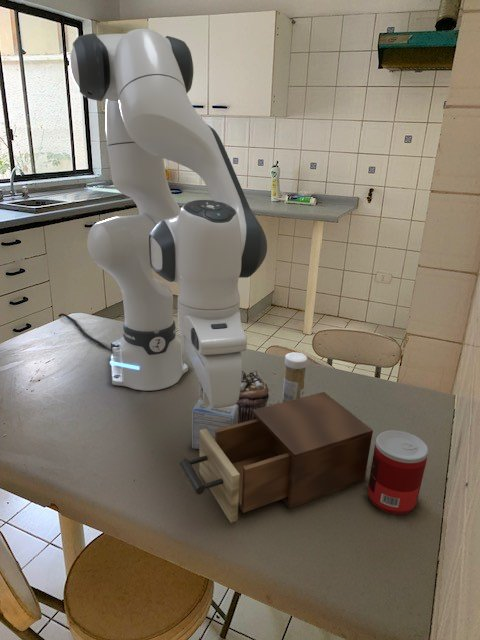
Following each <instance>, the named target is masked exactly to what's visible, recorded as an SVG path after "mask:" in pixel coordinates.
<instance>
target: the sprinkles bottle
mask: <svg viewBox="0 0 480 640" xmlns="http://www.w3.org/2000/svg"><path fill="white" fill-rule="evenodd" d="M284 366H285V367H284V376H283V387H282V402H286V401H290V400H294V399H298V398H302V397H304V393H305V392H304V389H305V377H306V368H307V366H308V357H307V355H306V354H304V353H301V352H296V351H292V352H289V353H286V354H285V356H284Z"/></svg>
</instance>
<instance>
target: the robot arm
mask: <svg viewBox="0 0 480 640" xmlns="http://www.w3.org/2000/svg"><path fill="white" fill-rule="evenodd" d="M194 67H195V66H194V62H193V56H192V52H191V49H190V48H189V46H188V45H187V43H186V42H185V41H184V40H181V39H180V38H176V37H173V36H169V35H166V36H163V35H162V34H161V33H159V32H157V31H155V30H153V29H150V28H143V27H142V28H136V29H135V28H134V29H132V30H130V31H128V32H126V33H107V34H106V33H105V34H99V35H98V34H96V33H95V32H93V33H87V34H82V35H79V36H77V37H76V39H75V40H74V41H73V42H72V47H71V50H70V54H69V69H70V74H71V77H72V79H73V82H74V84H75V85H76V87H77V91H78V92H79V93H80V95H82V96H83V97H84V98H86V99H89V100H92V101H98V102H103V101H104V100H105V138H106V146H107V153H108V154H107V155H108V161H109V169H110V175H111V176H110V177H111V182H112V185H113V186H114V188H115V189H116V190H117V191H118V192H119V193H120V194H122V195H124V196H126V197H128V198H130V199H131V200H132V201H133V203H134V204H135V206H136V208H137V210H138V214H135V215H133V214H132V215H122V216H113V217H111V218H107V219H105V220H101V221H98V222H96V223H94V224H93V225H92V226H91V228H90V230H89V231H88V235H87V238H86V240H87V241H86V242H87V243H86V247H87V251H88V254H89V256H90V258H91V260H92V261H93V263H94V264H95V265H97V267H99V268H100V269H102V270H103V271H105V272H107V273H108V274H109V275H110V276H111V277H112V278H113V279H114V280H115V282H116V284H117V286H118V287H119V290H120V293H121V296H122V303H123V304H122V305H123V313H124V322H123V325H122V336H121V337H120V338H119V339H117V340H115V341H112V342H110V348H109V347H107V346H106V345H105V344H104V343H102V342H101V341H100V340H98V339H96V338H94V337H92V336H90V335H89V334H88V333H87V332H86V331H85V330H84V329H83V327H82V326H81V325H80V324H79V322H77V320H76V319H74V318H72V317H71V316H70V315H68V314H66V313H59V314H58V317H59V318H61V317H65V318H67V319H68V320H70V321H72V322H73V323H74V324H75V326H76V327H77V328H78V329H79V331H80V333H82V334H83V335H84V336H85V337H86V338H87V339H89V340H90V341H92V342H94V343H96V344H98V345H99V346H100V347H101V348H103V349H106V350H107V351H109V352H112V353H111V355H110V361H109V365H110V371H111V373H110V374H111V384H112V385H114V386H120V387H127V388H129V389H132V390H136V391H147V392H148V391H158V390H164V389H167V388H169V387H172V386H173V385H175V384H177V383H178V382H179V381H180V380H181V378H182V376H183V375H184V374H185V373H187V372H188V371H189V365H188V364H186V363H185V362H183V361H184V360H183V349H182V342H181V340H179V339H178V338H177V336H176V335H177V333H176V332H177V331H178V332H179V333H180V334H181V335H182V336H183V347H184V350H185V353H186V355H187V356H188V358H189V361H190V363H191V365H192V367H193V369H194V372H195V374H196V376H197V381H198V385H199V397H200V399H202V401H203V404H204V405H205V406H212V407H213V408H222V407H229V406H234V405H235V404H236V403H237V401H238V400H239V396H240V388H241V378H242V371H243V355H242V352H245V351H247V348H248V339H247V335H246V332H245V329H244V326H243V324H242V319H241V312H240V308H241V307H240V306H241V305H240V304H241V297H240V296H241V295H240V291H239V278H240V279H243V278H245V279H246V278H250V277H252V275H254V274H255V273H256V271H258V269H260V267H261V266H262V264H263V262H264V261H265V259H266V257H267V253H268V241H267V236H266V233H265V230H264V229H263V227H262V225H261V223H260V221H259V220H258V218H257V217H256V215H255V214H254V212H253V210H252V208H251V206H250V204H249V202H248V200H247V197H246V195H245V192H244V190H243V188H242V186H241V183H240V181H239V178H238V176H237V173H236V171H235V170H234V169H235V168H234V167H233V165H232V162H231V160H230V157H229V154H228V153H227V151H226V148H225V145H224V143H223V142H222V139H221V137H220V135H219V134H218V133H217V131H216V130H215V129H214V128H213V127H212V126H210V125H209V124H207V123H206V121H204V119H203V118H202V117H201V116H200V114H199V113H198V112H197V111H196V109H195V107H194V106H193V104H192V102H191V101H190V98H189V96H188V93H189V92H190V91H191V88H192V86H193V80H194V74H195V72H194V70H195V69H194ZM165 160H167V161H170V162H174V163H176V164H179V165H181V166H183V167H186V168H187V169H189V170H191V171H192V172H194V173H196V175H198V176H199V177H200V178H201V179H202V181H203V182H204V185H205V187H206V189H207V192H208V194H209V197H210V198H211V199H195V200H192V201H188V202H186V203H185V204H183V205H182V206H181V207H180V205H179V204H178V202H177V201H176V199H175V198H174V196H173V193H172V191H171V189H170V186H169V182H168V179H167V174H166V173H167V172H166V167H165ZM153 272H155V274H157V275H158V276H159V277H161V278H162V279H163V280H165V281H167V282H170V283H172V282H174V283H177V284H178V287H179V288H178V289H179V291H178V295H177V326H176V321H175V319H174V294H173V291H172V289H171V288H170V286H169V285H168V284H166V283H165V282H164V281H161V280H160V279H157V278H155V277H154V275H153Z"/></svg>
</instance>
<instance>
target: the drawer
mask: <svg viewBox="0 0 480 640" xmlns="http://www.w3.org/2000/svg"><path fill="white" fill-rule="evenodd" d="M291 459H292V456H291V455H290V454H289V453H288V451H287V450H286V449H285V448H284V447H283V446H282V445H281V444H280V443H279V442H278V441H277V440H276V439H275V438H274V436H273V435H272V434H271V433H270V432H269V431H268V430H267V429H266V428H265V427H264V426H263V425H262V424H261V423H260V421H259V420H258V419H254V420H250V421H247V422H243V423H239V424H235V425H231V426H228V427H224V428H220V429H216V430H215V440H214V439H213V437H212V436H211V435H210V433H209V432H208V430H207V429H202V430H200V449H199V456H198V457H195V458H193V459H188V458H185V457H184V458H181V460H180V461H179V466H180V468H181V470H182V472H183V473H184V474H185V475H184V476H186V478H187V480H188V482H189V483H190V485H191V487H192V488H193V490H194V492H195V494H196V495H202V494H204V493H205V491H206V490H208V489H209V490H210V492H211V494H212V495H213V497H214V499H215V500H216V502H217V503H218V505H219V506H220V508H221V510H222V511H223V513H224V515H225V516H226V518H227V519H228V521H229V523H230V524H231V523H234V522H237V521H238V519H239V509H240V511H241V512H242V514H245V513H247V512H250V511H252V510H256V509H258V508H261V507H263V506H266V505H267V506H268V505H269V504H272V503H275V502H278V501H281V500H282V499H283V498H286V497H288V490H289V480H290V469H291ZM197 464H199V466H198V467H199V468H198V469H199V470H198V471H199V474H200V477H201V478H202V479H203V481H204V482H205V483H203V482H202V480H201V479H200V477H199V476H198V474H197V472H196V470H195V469H194V467H193V466H192V465H197Z"/></svg>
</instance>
